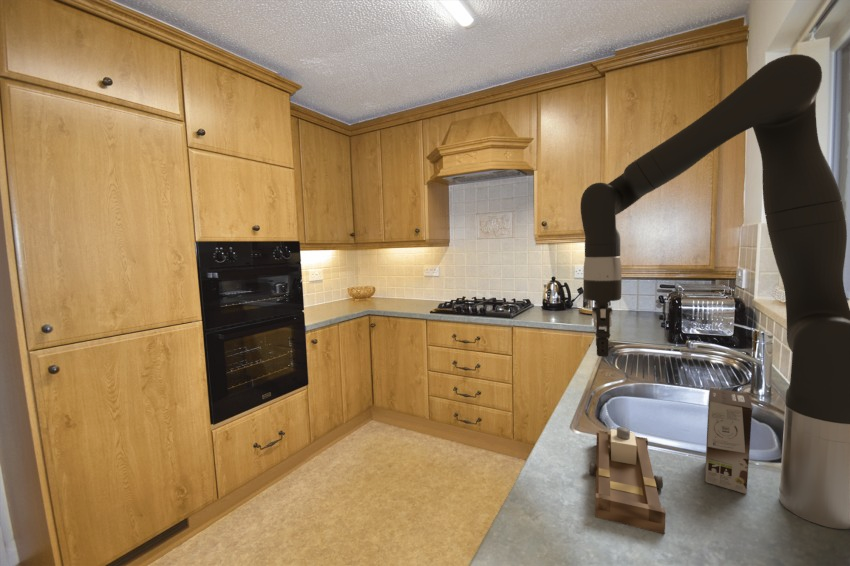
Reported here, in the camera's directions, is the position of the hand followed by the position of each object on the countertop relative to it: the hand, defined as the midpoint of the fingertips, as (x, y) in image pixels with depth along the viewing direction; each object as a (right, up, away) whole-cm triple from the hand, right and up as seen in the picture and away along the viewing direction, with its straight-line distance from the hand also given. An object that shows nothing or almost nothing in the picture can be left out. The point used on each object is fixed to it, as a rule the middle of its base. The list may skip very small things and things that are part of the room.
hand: (601, 351), depth 86 cm
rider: (+2, -21, -5) cm, 22 cm away
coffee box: (+20, -23, -10) cm, 32 cm away
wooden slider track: (-1, -23, -11) cm, 26 cm away
